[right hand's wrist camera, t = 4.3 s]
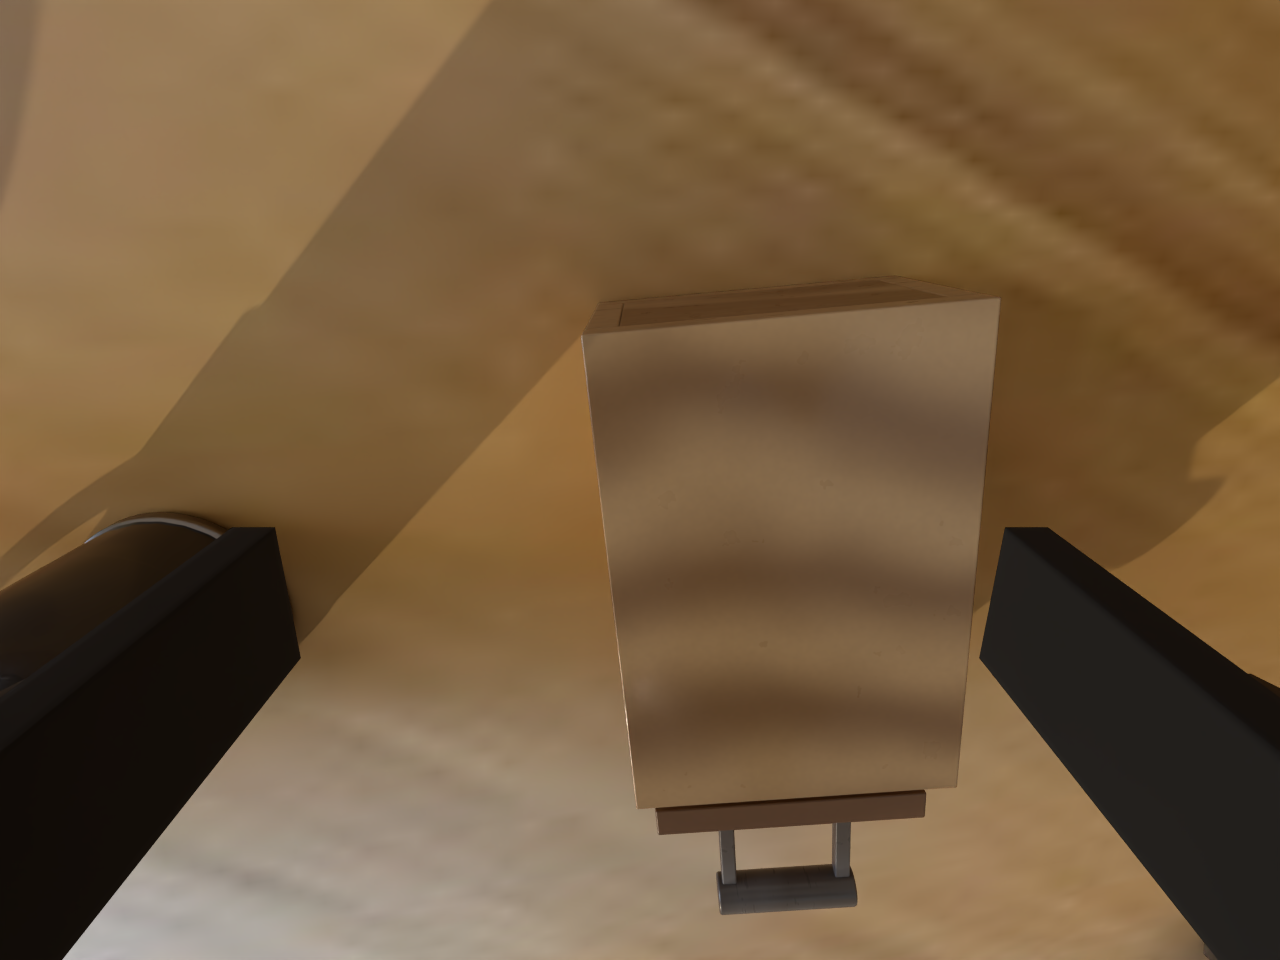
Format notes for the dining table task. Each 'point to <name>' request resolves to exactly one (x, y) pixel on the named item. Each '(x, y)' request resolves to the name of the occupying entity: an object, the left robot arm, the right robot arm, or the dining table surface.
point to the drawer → (798, 882)
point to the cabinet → (792, 532)
